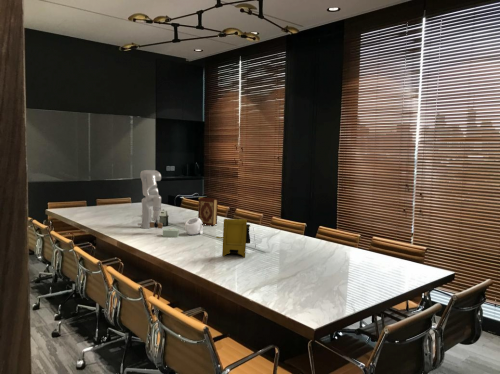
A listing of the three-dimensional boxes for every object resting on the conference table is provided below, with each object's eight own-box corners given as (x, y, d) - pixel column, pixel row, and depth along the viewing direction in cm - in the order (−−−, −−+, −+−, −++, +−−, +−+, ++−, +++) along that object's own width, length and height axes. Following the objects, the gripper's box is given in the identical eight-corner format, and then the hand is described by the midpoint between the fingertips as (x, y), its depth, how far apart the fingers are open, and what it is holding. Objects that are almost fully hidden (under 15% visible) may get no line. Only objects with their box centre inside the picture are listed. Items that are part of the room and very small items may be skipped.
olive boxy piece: (254, 253, 316) (256, 217, 314) (255, 258, 302) (257, 220, 300) (216, 252, 315) (217, 215, 313) (215, 256, 301) (216, 218, 299)
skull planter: (209, 231, 389) (203, 215, 381) (196, 243, 376) (189, 227, 367) (199, 229, 397) (193, 214, 389) (186, 241, 384) (180, 225, 376)
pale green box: (162, 236, 364) (162, 229, 363) (164, 234, 374) (164, 227, 373) (177, 237, 365) (177, 229, 364) (178, 235, 375) (179, 227, 374)
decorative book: (196, 223, 440) (197, 197, 438) (200, 223, 447) (201, 197, 445) (213, 226, 430) (214, 199, 427) (216, 225, 437) (218, 199, 434)
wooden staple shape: (148, 228, 372) (149, 222, 371) (149, 226, 377) (150, 221, 376) (161, 229, 373) (162, 224, 372) (162, 228, 378) (162, 223, 377)
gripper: (154, 207, 382) (153, 225, 384) (151, 210, 366) (150, 229, 368) (162, 207, 382) (161, 225, 385) (159, 210, 367) (158, 229, 369)
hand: (156, 227), depth 376 cm, fingers closed on wooden staple shape
